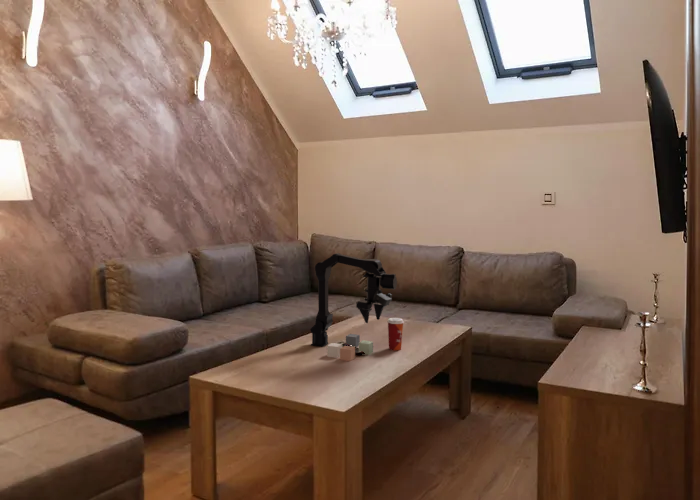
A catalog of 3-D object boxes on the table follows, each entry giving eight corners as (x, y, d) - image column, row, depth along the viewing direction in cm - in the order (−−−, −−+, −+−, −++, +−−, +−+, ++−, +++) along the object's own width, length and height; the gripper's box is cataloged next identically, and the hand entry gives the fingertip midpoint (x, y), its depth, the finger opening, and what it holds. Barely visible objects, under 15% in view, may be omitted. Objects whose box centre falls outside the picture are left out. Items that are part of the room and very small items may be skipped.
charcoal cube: (345, 346, 267) (345, 336, 266) (349, 344, 271) (349, 333, 271) (355, 347, 265) (355, 337, 264) (359, 345, 269) (359, 334, 269)
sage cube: (358, 353, 254) (358, 343, 254) (362, 351, 259) (362, 340, 259) (369, 355, 253) (369, 344, 252) (372, 352, 257) (373, 341, 257)
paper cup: (402, 351, 259) (403, 321, 257) (385, 350, 260) (386, 320, 259) (404, 347, 266) (404, 317, 265) (387, 346, 268) (388, 317, 266)
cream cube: (327, 356, 249) (327, 345, 249) (331, 353, 254) (331, 342, 254) (337, 358, 248) (337, 346, 247) (342, 355, 252) (342, 344, 252)
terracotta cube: (339, 359, 245) (340, 348, 244) (344, 356, 250) (344, 345, 249) (350, 361, 243) (350, 349, 243) (354, 358, 248) (355, 347, 247)
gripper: (376, 292, 244) (375, 327, 246) (399, 287, 259) (398, 320, 261) (355, 289, 251) (355, 323, 252) (379, 284, 266) (378, 316, 267)
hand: (372, 321), depth 258 cm, fingers open, 9 cm apart
